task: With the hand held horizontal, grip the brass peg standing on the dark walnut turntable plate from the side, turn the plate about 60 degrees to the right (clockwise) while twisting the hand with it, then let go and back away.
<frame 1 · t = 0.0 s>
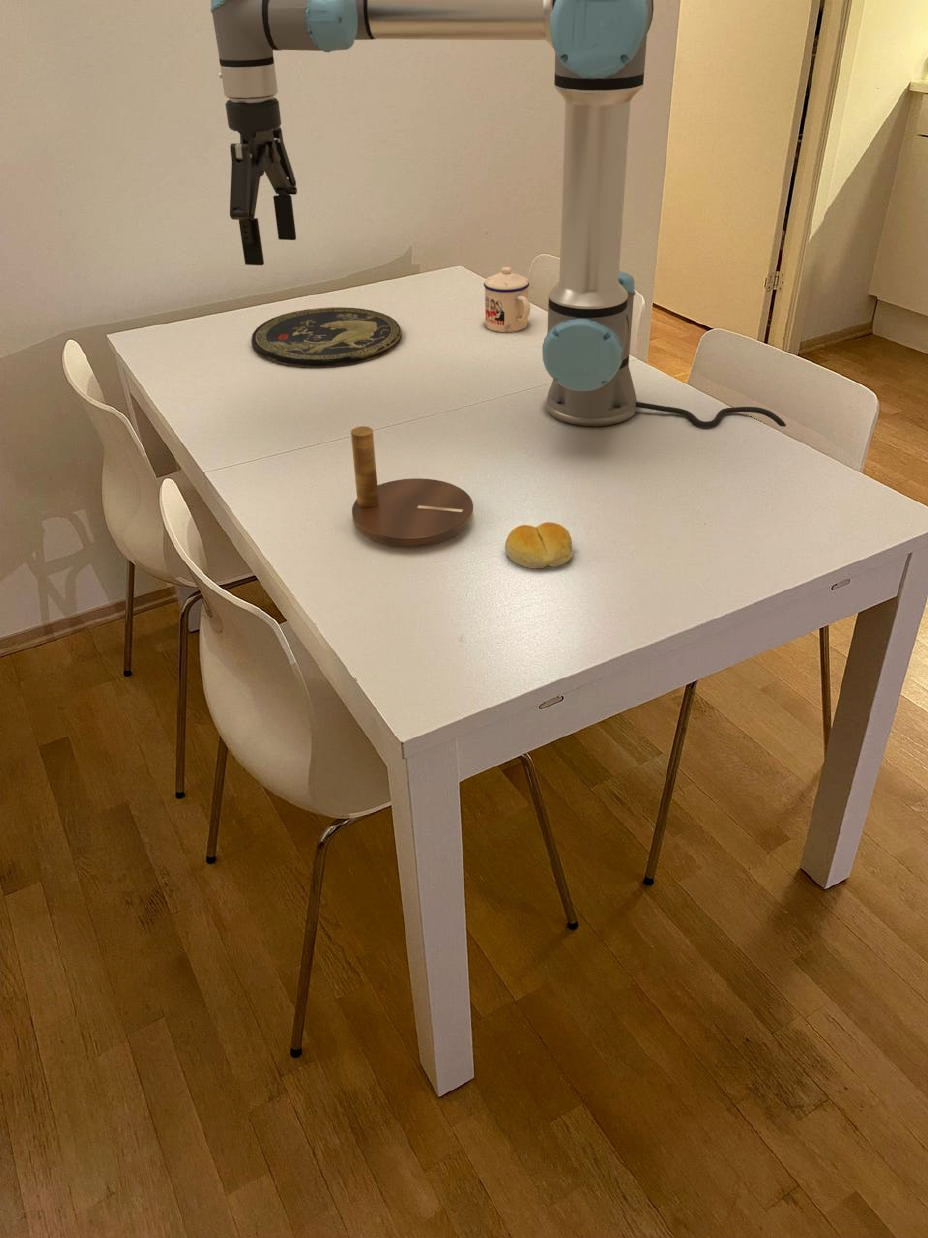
hand: (271, 251, 155), 28 cm above the table, tool pointing down, fingers open, 13 cm apart
turntable base: (413, 522, 142), on the table
decorative plate: (327, 340, 202), on the table
bread roll: (540, 554, 135), on the table
turntable: (410, 475, 138), point 7 cm above the table, hinge at 0.0°
teacup with lid: (510, 328, 206), on the table
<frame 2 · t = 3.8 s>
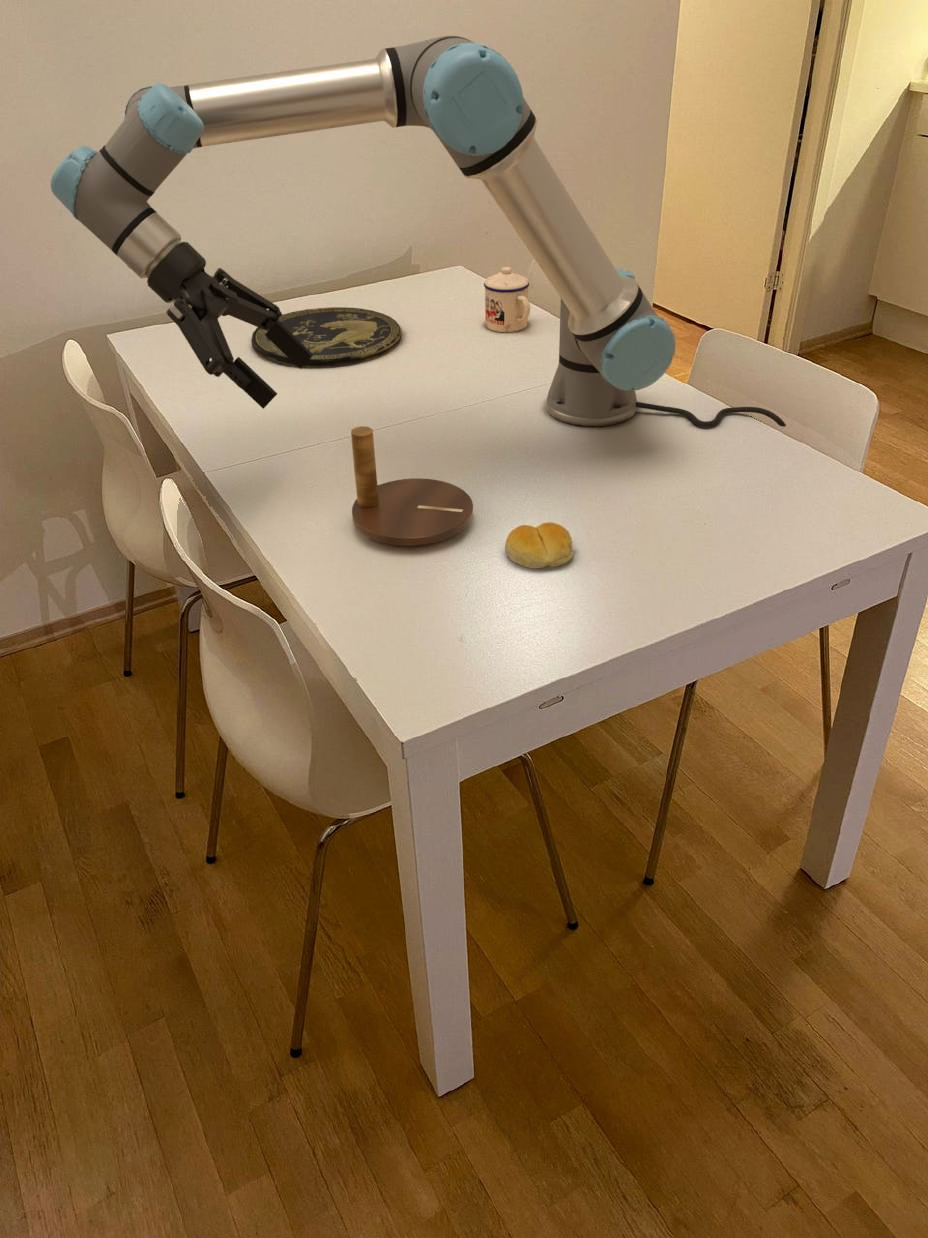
hand: (289, 381, 134), 20 cm above the table, tool tilted 45°, fingers open, 13 cm apart
nothing on the table moved.
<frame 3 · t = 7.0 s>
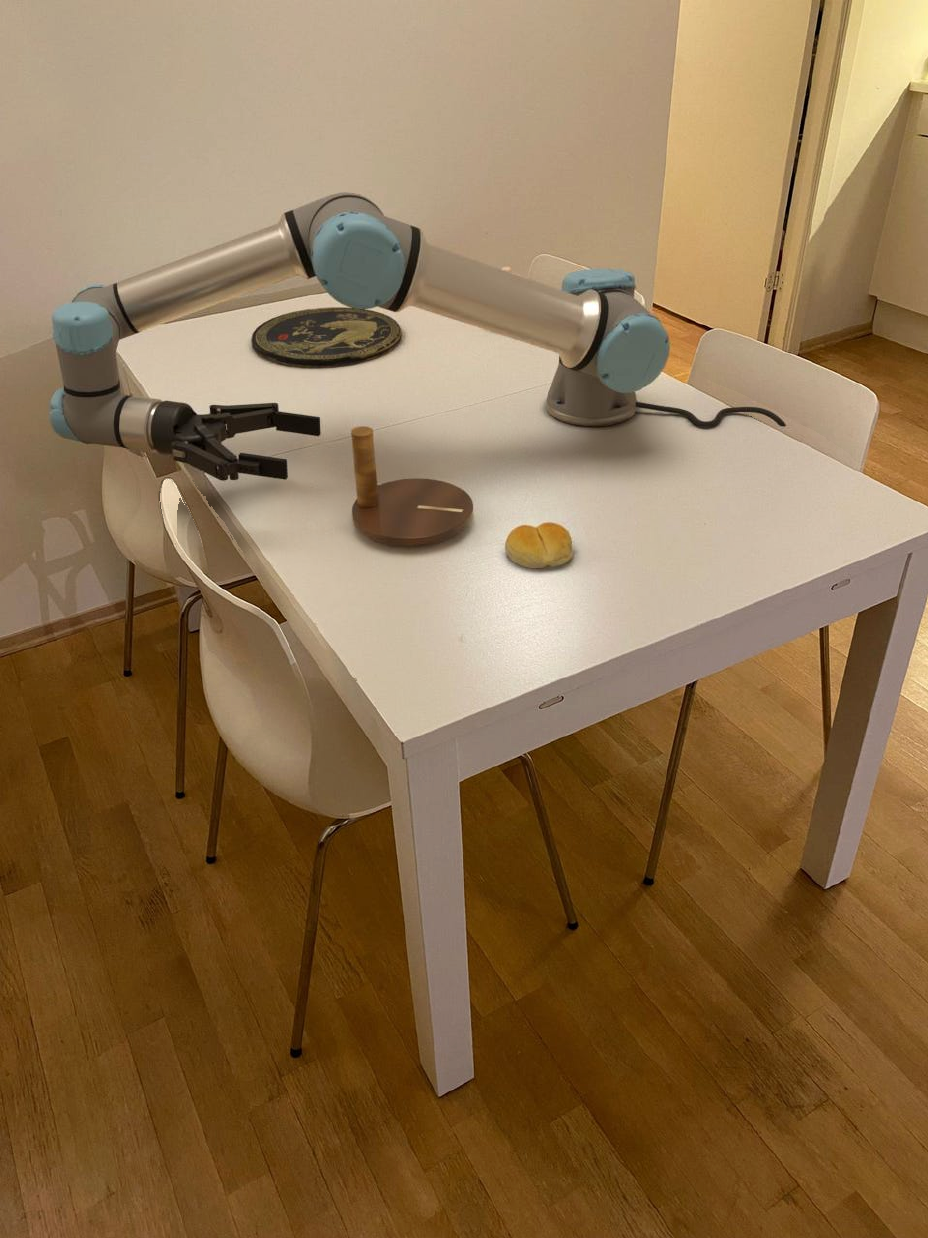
hand: (303, 447, 139), 10 cm above the table, tool horizontal, fingers open, 13 cm apart
nothing on the table moved.
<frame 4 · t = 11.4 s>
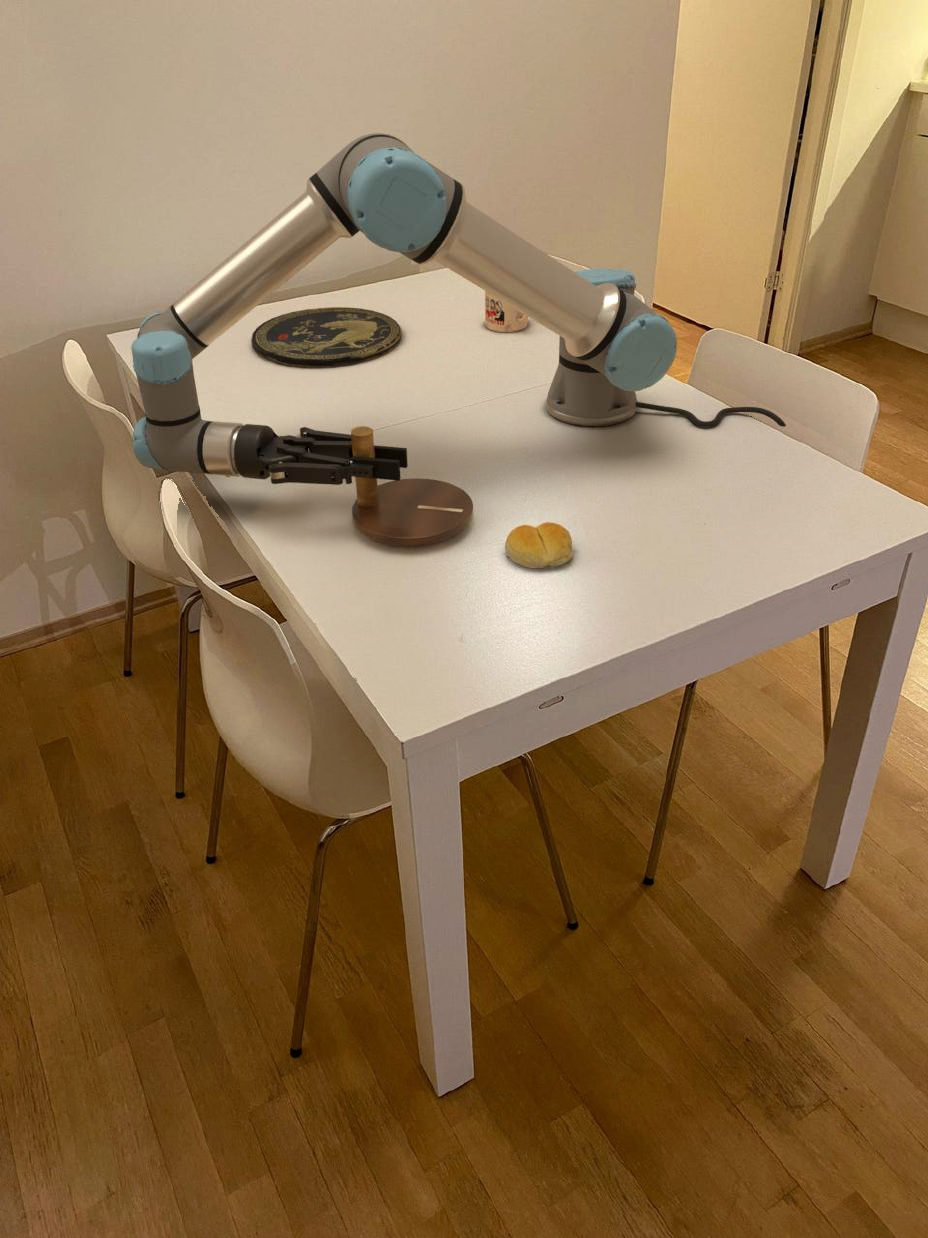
hand: (402, 464, 137), 9 cm above the table, tool horizontal, fingers closed on turntable, 3 cm apart
turntable: (410, 475, 138), point 7 cm above the table, hinge at 0.0°, touching gripper
everything else where it was.
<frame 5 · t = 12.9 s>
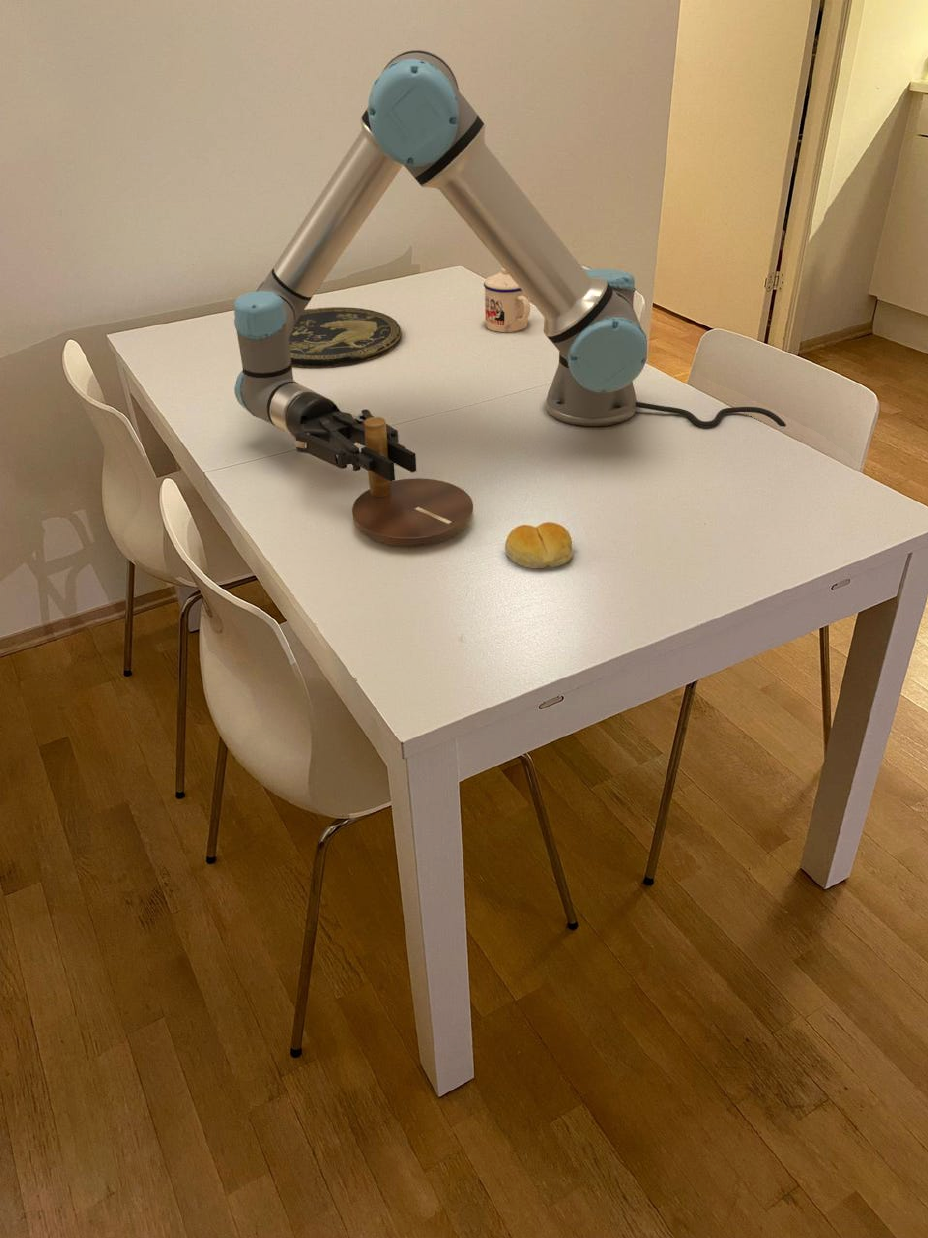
hand: (403, 467, 138), 9 cm above the table, tool horizontal, fingers closed on turntable, 3 cm apart
turntable: (410, 475, 138), point 7 cm above the table, hinge at 29.5°, touching gripper
everything else where it was.
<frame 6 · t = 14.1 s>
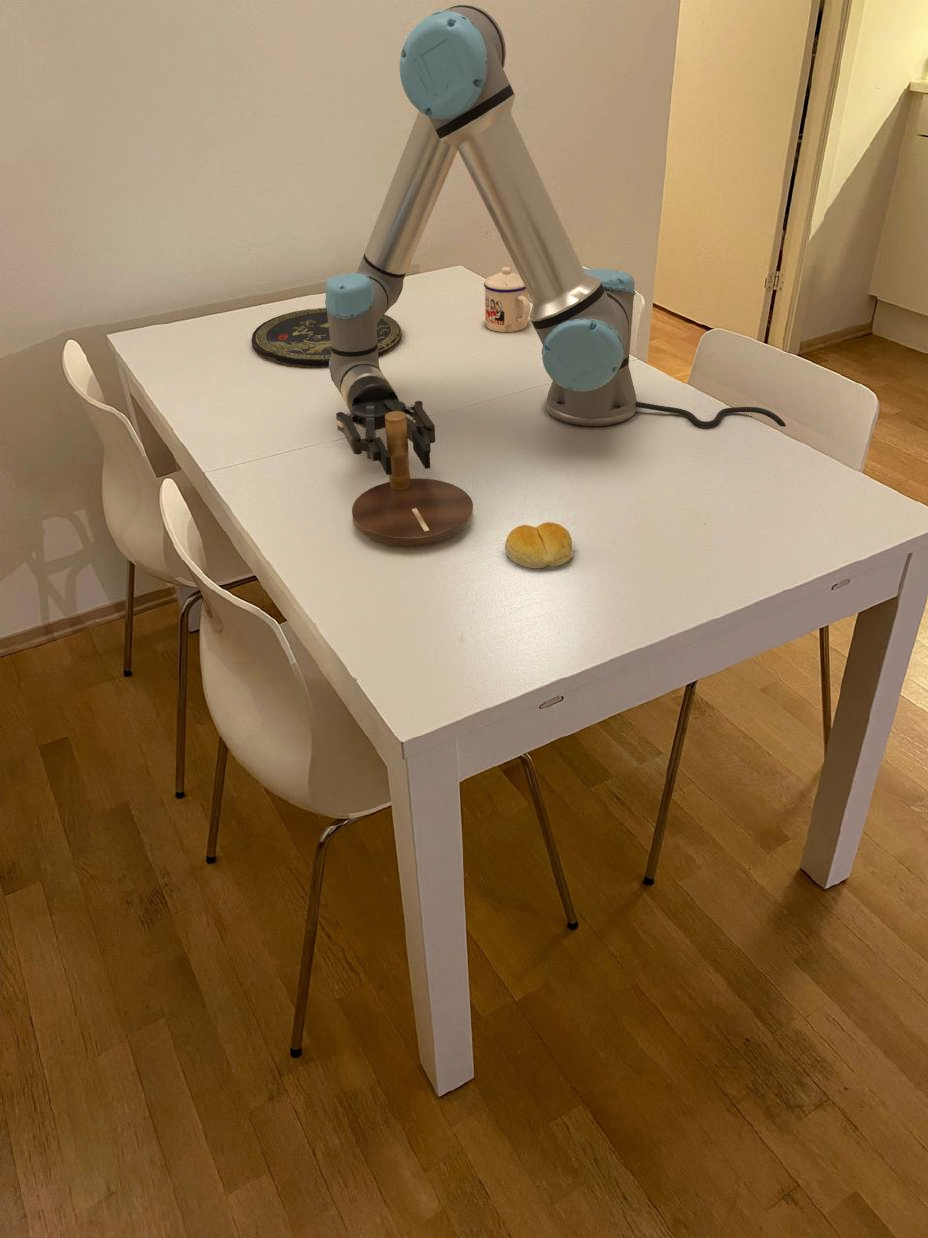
hand: (408, 462, 138), 9 cm above the table, tool horizontal, fingers open, 5 cm apart
turntable: (410, 475, 138), point 7 cm above the table, hinge at 59.0°
everything else where it was.
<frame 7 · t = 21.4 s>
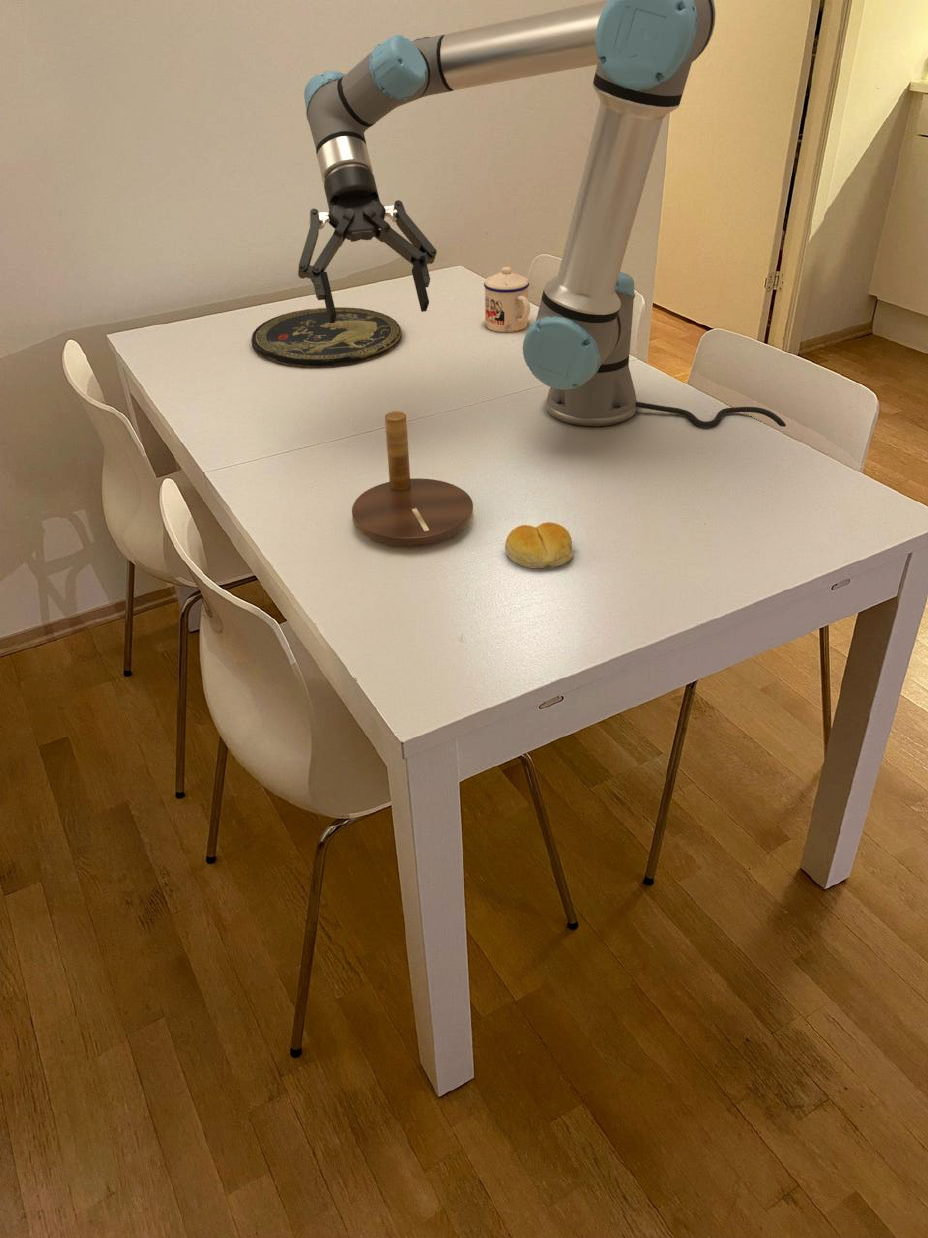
hand: (379, 313, 144), 24 cm above the table, tool tilted 45°, fingers open, 13 cm apart
nothing on the table moved.
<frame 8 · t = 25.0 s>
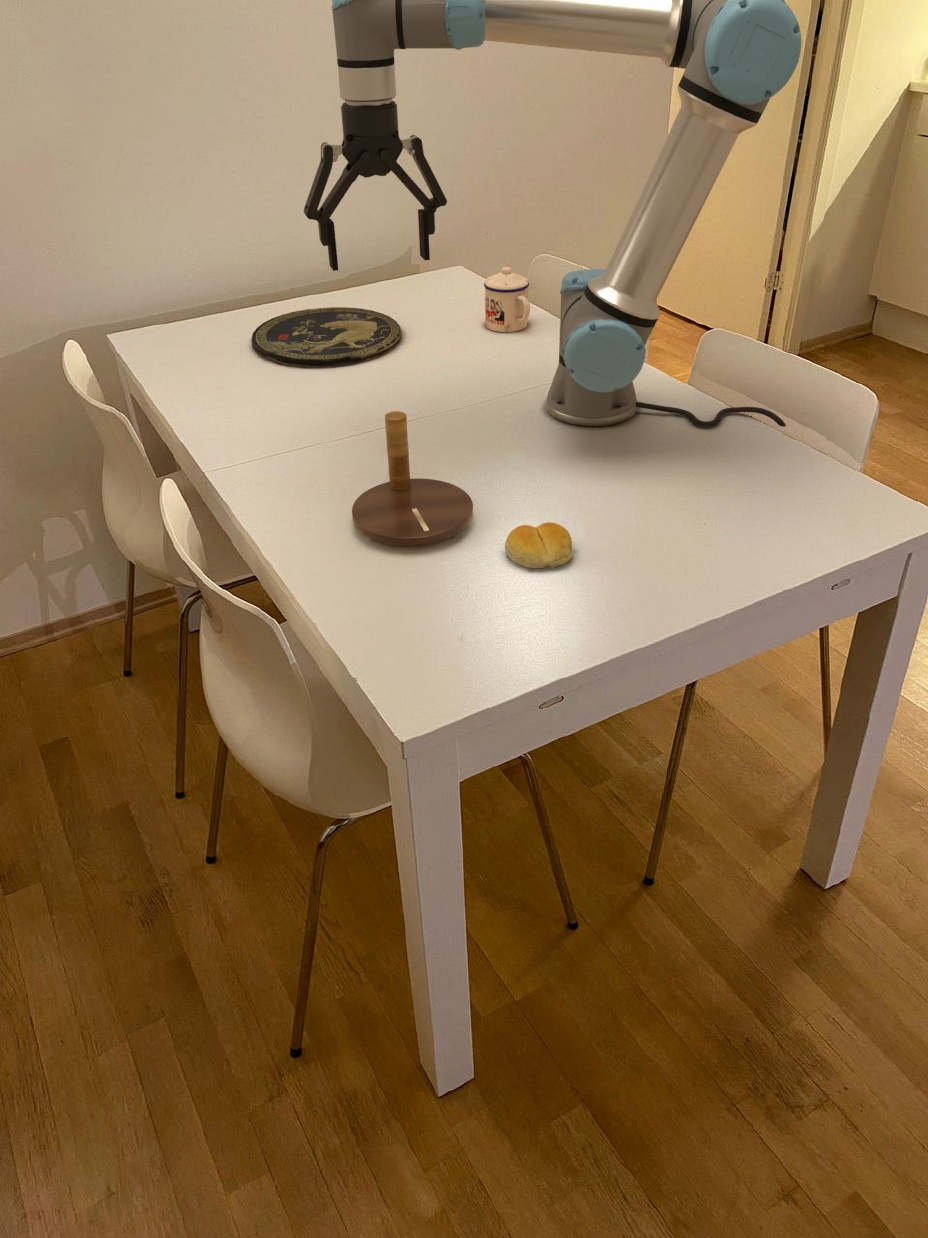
hand: (379, 262, 147), 29 cm above the table, tool pointing down, fingers open, 13 cm apart
nothing on the table moved.
at the end: turntable at +59° (first picture: +0°); the gripper is holding nothing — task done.
